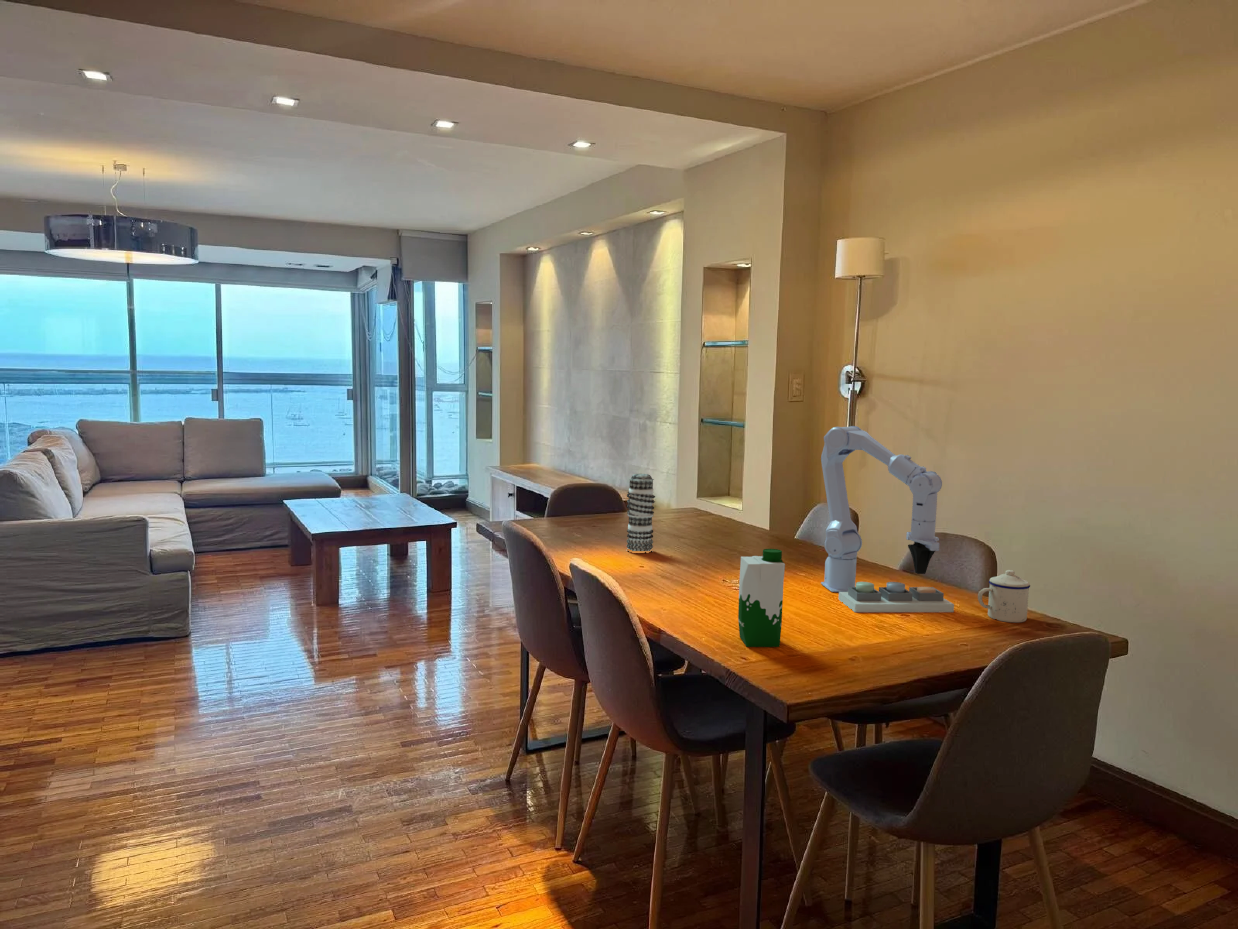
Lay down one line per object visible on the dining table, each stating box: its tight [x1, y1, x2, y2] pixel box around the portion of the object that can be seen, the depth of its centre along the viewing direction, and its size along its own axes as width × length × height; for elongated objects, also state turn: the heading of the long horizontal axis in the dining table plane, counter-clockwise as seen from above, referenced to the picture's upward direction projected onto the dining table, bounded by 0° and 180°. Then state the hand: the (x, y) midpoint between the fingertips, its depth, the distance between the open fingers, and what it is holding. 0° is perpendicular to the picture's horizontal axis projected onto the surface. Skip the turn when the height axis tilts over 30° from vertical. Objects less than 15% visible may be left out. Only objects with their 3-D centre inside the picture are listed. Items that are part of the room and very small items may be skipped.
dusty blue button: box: [886, 581, 906, 593], centre depth 215 cm, size 4×4×2 cm
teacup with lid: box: [977, 569, 1031, 624], centre depth 206 cm, size 12×9×12 cm
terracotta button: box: [917, 586, 936, 593], centre depth 216 cm, size 4×4×2 cm
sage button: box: [855, 581, 875, 593], centre depth 214 cm, size 4×4×2 cm
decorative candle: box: [626, 473, 656, 551], centre depth 275 cm, size 9×9×25 cm
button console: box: [838, 586, 955, 613], centre depth 215 cm, size 12×25×4 cm, turn 95°
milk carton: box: [737, 548, 786, 648], centre depth 182 cm, size 9×9×20 cm
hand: (920, 573), depth 215 cm, fingers closed
